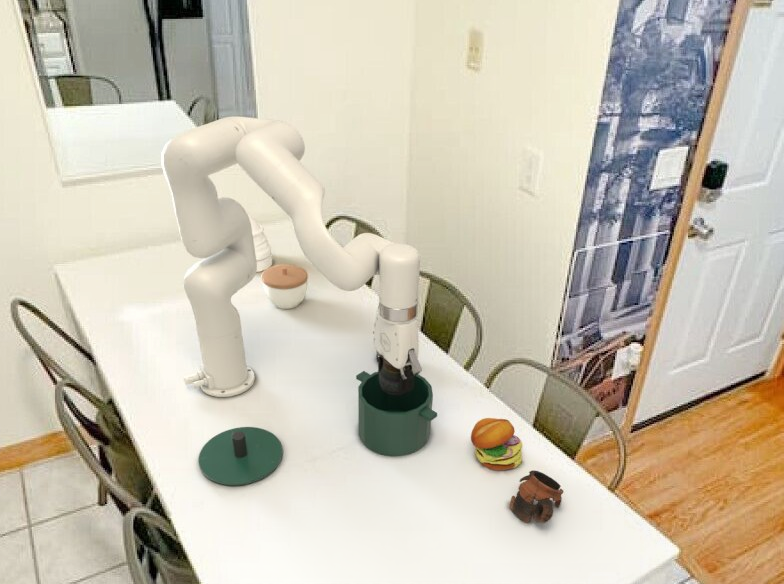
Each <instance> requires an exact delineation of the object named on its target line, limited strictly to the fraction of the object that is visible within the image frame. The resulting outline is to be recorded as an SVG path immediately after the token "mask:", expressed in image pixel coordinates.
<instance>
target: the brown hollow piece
mask: <svg viewBox="0 0 784 584" xmlns="http://www.w3.org/2000/svg"><path fill="white" fill-rule="evenodd" d="M528 473H529V474H528V475H525V476H523V477H521V478H520V479H519V480H518V481H519V483H520V484H519V485H518V491H517V493H516V496H515V495H512V496H511V498H510V503H509V508H510V510H511V512H512V513H513V514H514V515H515V516H516V517H517V518H518V519H519V520H521V521H522V522H524V523H527V524H528V523H529V522H530V520H531V519H532V520H533V521H534V522H535V523H540V524H545V523H548V522H549V521H550V520H551V519H552V517H553V515H554V505H555V506H556V507H557V508H560V506H561V503H562V499H563V498H562V495H563V494H564V489H563V488H561V484H560V483H559V482H557V480H555V479H554V478H552V477H551V476H549V475H547V474H545V473H544V472H541V471H539V470H535V469H534V470H532V469H531V470H530V471H529V472H528ZM535 501H536V504H535V503H534V502H535Z"/></svg>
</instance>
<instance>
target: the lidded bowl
mask: <svg viewBox="0 0 784 584" xmlns="http://www.w3.org/2000/svg"><path fill="white" fill-rule="evenodd" d="M308 279H309V274H308V271H307V270H306V269H305V268H303V267H301V266H300V265H296V264H276V265H273V266H270V267H269V268H268V269H266V270H263V272H262V273H261V281H262V286H263V291H264V294H265V297H266V298H267V299H268V300H269V301H270V303H272V304H273V305H274V306H275V307H276V308H278V309H282V310H289V309H295V308H297V307H298V306H299V305H300V303H302V301H303V300H304V299H305V298H306V295H307V292H308V287H309V286H308V284H309V283H308Z"/></svg>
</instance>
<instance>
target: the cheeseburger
mask: <svg viewBox="0 0 784 584" xmlns="http://www.w3.org/2000/svg"><path fill="white" fill-rule="evenodd" d="M515 431H516V430H515V427H514V424H512V423H511V421H510V420H508V419H507V418H495V417H485V418H482V419H480V420H478V421H477V422H476V423H475V424H474V427H473V428H472V430H471V432H470V433H471V434H470V442H471V443H472V445H473V446H474V448H475V449H474V454H475V457H476V458H477V460H478V461H479V462H480V463H481V465H482V466H484V467H486V468H487V469H490V470H496V471H505V470H511V469H515V468H517V467H518V466H519V465H521V464H522V461H523V456H522V455H523V454H522V453H523V452H522V449H523V442H522V440H521V439H520V437H518V436H517V435H515Z"/></svg>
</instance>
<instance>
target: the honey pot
mask: <svg viewBox="0 0 784 584" xmlns="http://www.w3.org/2000/svg"><path fill="white" fill-rule="evenodd" d="M246 213H247V214H248V217H249V219H250V223H251V228H252V234H253V241H254V247H255V254H256V262H257V270H256V273H259V272H262V271H263V272H264V271H265V270H266V269H268V268H270V267H272V265H273V255H272V246H271V244H270V243H269V240H268V239H267V238H268V237H267V236H266V234H265V232H264V227H263V224H260V223H259V221H258V220H257V219H256V218H255V217H254V215H252V214H251V213H249V212H246Z"/></svg>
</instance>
